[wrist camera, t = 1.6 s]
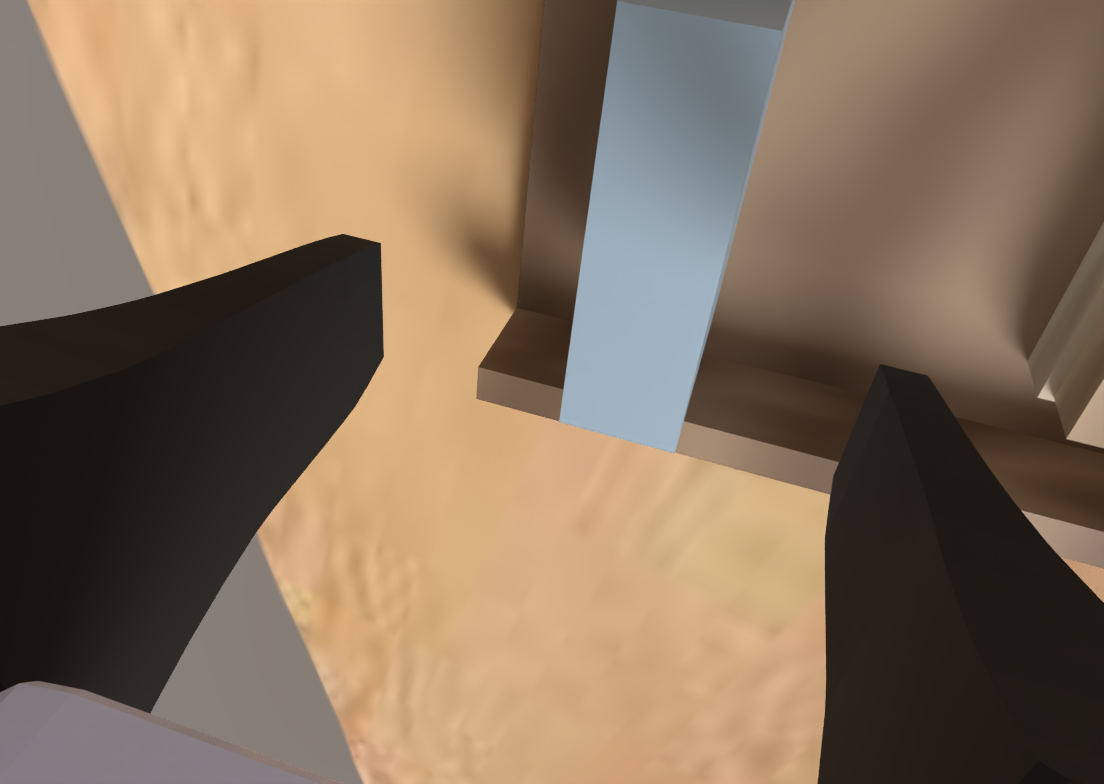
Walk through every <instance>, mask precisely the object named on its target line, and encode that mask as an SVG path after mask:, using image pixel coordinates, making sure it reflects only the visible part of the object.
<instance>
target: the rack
mask: <svg viewBox="0 0 1104 784" xmlns="http://www.w3.org/2000/svg"><path fill="white" fill-rule="evenodd" d="M617 1H618V0H544V10H543V21H542V32H541V44H540V55H539V66H538V78H537V89H536V100H535V111H534V123H533V134H532V145H531V156H530V168H529V179H528V190H527V201H526V213H525V224H524V235H523V246H522V258H521V269H520V280H519V291H518V303H517V309H516V310H515V312H514V313H513V315H512V316H511V318H510V319H509V321H508V322H507V324H506V325H505V327H504V328H503V330H502V332H501V333H500V335H499V336H498V338H497V339H496V341H495V342H494V344H493V345H492V347H491V348H490V350H489V351H488V353H487V355H486V356H485V358H484V359H483V361H482V362H481V364H480V365H479V367H478V381H477V398H476V399H479V400H483V401H487V402H490V403H494V404H498V405H501V406H505V407H509V408H513V409H516V410H520V411H524V412H527V413H531V414H535V415H538V416H542V417H546V418H549V419H553V420H557V421H559V419H560V412H561V405H562V398H563V390H564V383H565V376H566V369H567V361H568V354H569V347H570V340H571V332H572V325H573V318H574V311H575V303H576V296H577V289H578V282H579V274H580V267H581V260H582V253H583V245H584V238H585V231H586V224H587V216H588V209H589V202H590V195H591V187H592V180H593V173H594V166H595V158H596V151H597V144H598V137H599V129H600V122H601V115H602V108H603V101H604V93H605V86H606V79H607V72H608V64H609V57H610V50H611V43H612V35H613V28H614V21H615V14H616V6H617ZM1103 222H1104V0H795V2H794V6H793V10H792V14H791V18H790V22H789V25H788V29H787V33H786V37H785V41H784V45H783V49H782V53H781V56H780V60H779V64H778V68H777V72H776V76H775V80H774V84H773V87H772V91H771V95H770V99H769V103H768V107H767V111H766V115H765V118H764V122H763V126H762V130H761V134H760V138H759V142H758V146H757V150H756V153H755V157H754V161H753V165H752V169H751V173H750V177H749V181H748V184H747V188H746V192H745V196H744V200H743V204H742V208H741V212H740V215H739V219H738V223H737V227H736V231H735V235H734V239H733V243H732V246H731V250H730V254H729V258H728V262H727V266H726V270H725V274H724V277H723V281H722V285H721V289H720V293H719V297H718V301H717V305H716V308H715V312H714V315H713V319H712V323H711V326H710V330H709V333H708V337H707V340H706V344H705V347H704V351H703V355H702V358H701V362H700V365H699V369H698V372H697V376H696V380H695V383H694V387H693V390H692V394H691V397H690V401H689V405H688V408H687V412H686V415H685V419H684V422H683V426H682V429H681V433H680V437H679V440H678V444H677V447H676V451H675V453H679V454H683V455H686V456H690V457H694V458H697V459H701V460H705V461H708V462H712V463H716V464H719V465H723V466H727V467H731V468H734V469H738V470H742V471H745V472H749V473H753V474H756V475H760V476H764V477H768V478H771V479H775V480H779V481H782V482H786V483H790V484H793V485H797V486H801V487H804V488H808V489H812V490H816V491H819V492H823V493H827V494H830V495H831V488H832V481H833V476H834V473H835V471H836V468H837V466H838V464H839V461H840V459H841V456H842V454H843V452H844V449H845V447H846V444H847V442H848V440H849V437H850V435H851V432H852V430H853V428H854V425H855V423H856V421H857V418H858V416H859V413H860V411H861V409H862V406H863V404H864V401H865V399H866V397H867V394H868V392H869V389H870V387H871V385H872V382H873V380H874V377H875V375H876V373H877V370H878V368H879V365H880V364H882V365H886V366H891V367H895V368H899V369H903V370H907V371H911V372H915V373H920V374H924V375H928V377H929V378H930V380H931V381H932V382H933V384H934V385H935V387H936V388H937V390H938V391H939V393H940V395H941V396H942V398H943V399H944V401H945V402H946V404H947V405H948V407H949V409H950V410H951V412H952V413H953V415H954V416H955V418H956V419H957V421H958V422H959V424H960V426H961V427H962V429H963V430H964V432H965V433H966V435H967V436H968V438H969V439H970V441H971V442H972V444H973V445H974V447H975V448H976V450H977V451H978V453H979V454H980V455H981V457H982V458H983V460H984V461H985V463H986V464H987V465H988V467H989V468H990V470H991V471H992V473H993V474H994V475H995V477H996V478H997V479H998V481H999V482H1000V484H1001V485H1002V486H1003V488H1004V489H1005V490H1006V492H1007V493H1008V494H1009V496H1010V497H1011V498H1012V500H1013V501H1014V502H1015V503H1016V505H1017V506H1018V507H1019V508H1020V510H1021V511H1022V512H1023V513H1024V515H1025V516H1026V517H1027V518H1028V520H1029V521H1030V522H1031V523H1032V524H1033V526H1034V527H1035V528H1036V529H1037V531H1038V532H1039V533H1040V534H1041V536H1042V537H1043V538H1044V539H1045V540H1046V542H1047V543H1048V544H1049V545H1050V546H1051V547H1052V548H1053V550H1054V551H1055V552H1056V553H1057V554H1058V555H1059V556H1060V557H1063V558H1067V559H1071V560H1074V561H1078V562H1082V563H1085V564H1089V565H1093V566H1096V567H1100V568H1104V448H1101V447H1097V446H1093V445H1088V444H1084V443H1080V442H1076V441H1072V440H1068V439H1066V437H1065V433H1064V430H1063V427H1062V423H1061V420H1060V417H1059V413H1058V410H1057V407H1056V403H1055V402H1054V401H1050V400H1045V399H1041V398H1037V394H1036V391H1035V387H1034V383H1033V380H1032V376H1031V373H1030V369H1029V365H1028V362H1027V361H1028V359H1029V357H1030V355H1031V354H1032V352H1033V350H1034V348H1035V346H1036V344H1037V343H1038V341H1039V339H1040V337H1041V335H1042V334H1043V332H1044V330H1045V328H1046V326H1047V324H1048V323H1049V321H1050V319H1051V317H1052V315H1053V313H1054V312H1055V310H1056V308H1057V306H1058V304H1059V303H1060V301H1061V299H1062V297H1063V295H1064V293H1065V292H1066V290H1067V288H1068V286H1069V284H1070V282H1071V281H1072V279H1073V277H1074V275H1075V273H1076V271H1077V270H1078V268H1079V266H1080V264H1081V262H1082V261H1083V259H1084V257H1085V255H1086V253H1087V251H1088V250H1089V248H1090V246H1091V244H1092V242H1093V240H1094V239H1095V237H1096V235H1097V233H1098V231H1099V230H1100V228H1101V226H1102V224H1103Z"/></svg>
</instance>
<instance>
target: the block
mask: <svg viewBox="0 0 1104 784" xmlns="http://www.w3.org/2000/svg"><path fill="white" fill-rule="evenodd" d="M794 2H795V0H618V1H617V6H616V14H615V21H614V28H613V35H612V43H611V50H610V57H609V64H608V72H607V79H606V86H605V93H604V101H603V108H602V115H601V122H600V129H599V137H598V144H597V151H596V158H595V166H594V173H593V180H592V187H591V195H590V202H589V209H588V216H587V224H586V231H585V238H584V245H583V253H582V260H581V267H580V274H579V282H578V289H577V296H576V303H575V311H574V318H573V325H572V332H571V340H570V347H569V354H568V361H567V369H566V376H565V383H564V390H563V398H562V405H561V412H560V419H559V422H561V423H564V424H568V425H572V426H575V427H579V428H583V429H587V430H590V431H594V432H598V433H601V434H605V435H609V436H612V437H616V438H620V439H623V440H627V441H631V442H635V443H638V444H642V445H646V446H649V447H653V448H657V449H660V450H664V451H668V452H671V453H675V451H676V447H677V444H678V440H679V437H680V433H681V429H682V426H683V422H684V419H685V415H686V412H687V408H688V405H689V401H690V397H691V394H692V390H693V387H694V383H695V380H696V376H697V372H698V369H699V365H700V362H701V358H702V355H703V351H704V347H705V344H706V340H707V337H708V333H709V330H710V326H711V323H712V319H713V315H714V312H715V308H716V305H717V301H718V297H719V293H720V289H721V285H722V281H723V277H724V274H725V270H726V266H727V262H728V258H729V254H730V250H731V246H732V243H733V239H734V235H735V231H736V227H737V223H738V219H739V215H740V212H741V208H742V204H743V200H744V196H745V192H746V188H747V184H748V181H749V177H750V173H751V169H752V165H753V161H754V157H755V153H756V150H757V146H758V142H759V138H760V134H761V130H762V126H763V122H764V118H765V115H766V111H767V107H768V103H769V99H770V95H771V91H772V87H773V84H774V80H775V76H776V72H777V68H778V64H779V60H780V56H781V53H782V49H783V45H784V41H785V37H786V33H787V29H788V25H789V22H790V18H791V14H792V10H793V6H794Z"/></svg>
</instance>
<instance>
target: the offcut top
mask: <svg viewBox="0 0 1104 784" xmlns="http://www.w3.org/2000/svg"><path fill="white" fill-rule="evenodd" d="M1054 400H1055V403H1056V407H1057V410H1058V413H1059V417H1060V420H1061V423H1062V427H1063V430H1064V433H1065V437H1066V439H1068V440H1072V441H1076V442H1080V443H1084V444H1088V445H1093V446H1097V447H1101V448H1104V313H1103V315H1102V317H1101V318H1100V320H1099V322H1098V323H1097V325H1096V327H1095V328H1094V330H1093V332H1092V334H1091V335H1090V337H1089V339H1088V340H1087V342H1086V344H1085V345H1084V347H1083V349H1082V350H1081V352H1080V354H1079V356H1078V357H1077V359H1076V361H1075V362H1074V364H1073V366H1072V367H1071V369H1070V371H1069V372H1068V374H1067V376H1066V378H1065V379H1064V381H1063V383H1062V384H1061V386H1060V388H1059V389H1058V391H1057V393H1056V395H1055V396H1054Z"/></svg>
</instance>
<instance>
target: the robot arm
mask: <svg viewBox="0 0 1104 784" xmlns="http://www.w3.org/2000/svg"><path fill="white" fill-rule="evenodd" d="M383 357H384V350H383V311H382V272H381V243H378V242H374V241H370V240H366V239H361V238H357V237H353V236H349V235H345V234H341V235H337V236H333V237H329V238H325V239H322V240H319V241H315V242H312V243H309V244H306V245H303V246H300V247H297V248H294V249H292V250H289V251H286V252H283V253H280V254H278V255H275V256H272V257H269V258H266V259H263V260H261V261H258V262H255V263H252V264H249V265H246V266H244V267H241V268H238V269H235V270H232V271H229V272H227V273H224V274H221V275H218V276H214V277H211V278H208V279H205V280H202V281H198V282H195V283H192V284H189V285H186V286H182V287H179V288H176V289H173V290H170V291H166V292H163V293H160V294H157V295H153V296H150V297H146V298H142V299H139V300H135V301H131V302H127V303H123V304H119V305H114V306H110V307H106V308H101V309H97V310H92V311H88V312H83V313H78V314H73V315H68V316H63V317H57V318H50V319H44V320H38V321H32V322H25V323H19V324H13V325H7V326H0V784H343V783H341V782H338V781H335V780H332V779H330V778H327V777H324V776H322V775H319V774H316V773H313V772H310V771H308V770H305V769H302V768H299V767H297V766H294V765H291V764H288V763H285V762H283V761H280V760H277V759H274V758H272V757H269V756H266V755H263V754H261V753H257V752H255V751H252V750H249V749H247V748H244V747H241V746H238V745H236V744H233V743H230V742H227V741H224V740H222V739H219V738H216V737H213V736H211V735H208V734H205V733H202V732H199V731H197V730H194V729H191V728H188V727H186V726H183V725H180V724H177V723H175V722H172V721H169V720H166V719H164V718H161V717H158V716H155V715H152V714H150V713H151V711H152V709H153V707H154V705H155V703H156V701H157V699H158V698H159V696H160V694H161V692H162V690H163V688H164V687H165V685H166V683H167V681H168V679H169V678H170V675H171V674H172V672H173V670H174V669H175V666H176V665H177V663H178V661H179V659H180V657H181V655H182V654H183V652H184V650H185V648H186V646H187V645H188V643H189V641H190V639H191V638H192V636H193V634H194V632H195V631H196V629H197V627H198V626H199V624H200V622H201V621H202V619H203V617H204V616H205V614H206V612H207V611H208V609H209V607H210V606H211V604H212V602H213V601H214V599H215V597H216V595H217V594H218V592H219V590H220V588H221V587H222V585H223V584H224V582H225V580H226V579H227V577H228V576H229V574H230V573H231V571H232V569H233V568H234V566H235V564H236V563H237V562H238V560H239V558H240V557H241V555H242V554H243V552H244V551H245V549H246V547H247V546H248V544H249V543H250V541H251V539H252V538H253V536H254V535H255V533H256V532H257V530H258V529H259V528H260V526H261V525H262V524H263V522H264V521H265V520H266V518H267V517H268V515H269V514H270V513H271V511H272V510H273V509H274V507H275V506H276V505H277V504H278V503H279V501H280V500H281V499H282V498H283V496H284V495H285V494H286V493H287V491H288V490H289V489H290V488H291V486H292V485H293V484H294V483H295V482H296V480H297V479H298V478H299V477H300V475H301V474H302V473H303V472H304V470H305V469H306V468H307V467H308V465H309V464H310V463H311V462H312V461H313V459H314V458H315V457H316V456H317V454H318V453H319V452H320V451H321V449H322V448H323V447H324V446H325V444H326V443H327V442H328V441H329V439H330V438H331V437H332V436H333V434H334V433H335V432H336V431H337V429H338V428H339V427H340V426H341V424H342V423H343V422H344V420H345V419H346V418H347V417H348V415H349V414H350V413H351V411H352V410H353V409H354V407H355V406H356V404H357V403H358V401H359V399H360V398H361V396H362V394H363V393H364V391H365V389H366V388H367V386H368V384H369V382H370V381H371V379H372V377H373V375H374V373H375V372H376V370H377V368H378V366H379V364H380V363H381V361H382V359H383ZM825 615H826V702H825V718H824V727H823V737H822V747H821V757H820V767H819V777H818V784H1104V603H1103V602H1102V601H1101V600H1100V599H1099V598H1098V597H1097V595H1096V594H1095V593H1094V592H1093V591H1092V590H1091V589H1090V588H1089V587H1088V586H1087V585H1086V584H1085V583H1084V582H1083V581H1082V580H1081V579H1080V578H1079V577H1078V575H1077V574H1076V573H1075V572H1074V571H1073V570H1072V569H1071V568H1070V567H1069V566H1068V565H1067V564H1066V563H1065V562H1064V561H1063V560H1062V559H1061V557H1060V556H1059V555H1058V554H1057V553H1056V552H1055V551H1054V550H1053V548H1052V547H1051V546H1050V545H1049V544H1048V543H1047V542H1046V540H1045V539H1044V538H1043V537H1042V536H1041V534H1040V533H1039V532H1038V531H1037V529H1036V528H1035V527H1034V526H1033V524H1032V523H1031V522H1030V521H1029V520H1028V518H1027V517H1026V516H1025V515H1024V513H1023V512H1022V511H1021V510H1020V508H1019V507H1018V506H1017V505H1016V503H1015V502H1014V501H1013V500H1012V498H1011V497H1010V496H1009V494H1008V493H1007V492H1006V490H1005V489H1004V488H1003V486H1002V485H1001V484H1000V482H999V481H998V479H997V478H996V477H995V475H994V474H993V473H992V471H991V470H990V468H989V467H988V465H987V464H986V463H985V461H984V460H983V458H982V457H981V455H980V454H979V453H978V451H977V450H976V448H975V447H974V445H973V444H972V442H971V441H970V439H969V438H968V436H967V435H966V433H965V432H964V430H963V429H962V427H961V426H960V424H959V422H958V421H957V419H956V418H955V416H954V415H953V413H952V412H951V410H950V409H949V407H948V405H947V404H946V402H945V401H944V399H943V398H942V396H941V395H940V393H939V391H938V390H937V388H936V387H935V385H934V384H933V382H932V381H931V380H930V378H929V377H928V375H924V374H920V373H915V372H911V371H907V370H903V369H899V368H895V367H891V366H886V365H882V364H880V365H879V368H878V370H877V373H876V375H875V377H874V380H873V382H872V385H871V387H870V389H869V392H868V394H867V397H866V399H865V401H864V404H863V406H862V409H861V411H860V413H859V416H858V418H857V421H856V423H855V425H854V428H853V430H852V432H851V435H850V437H849V440H848V442H847V444H846V447H845V449H844V452H843V454H842V456H841V459H840V461H839V464H838V466H837V468H836V471H835V473H834V476H833V481H832V488H831V495H830V502H829V510H828V518H827V526H826V534H825Z"/></svg>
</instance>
